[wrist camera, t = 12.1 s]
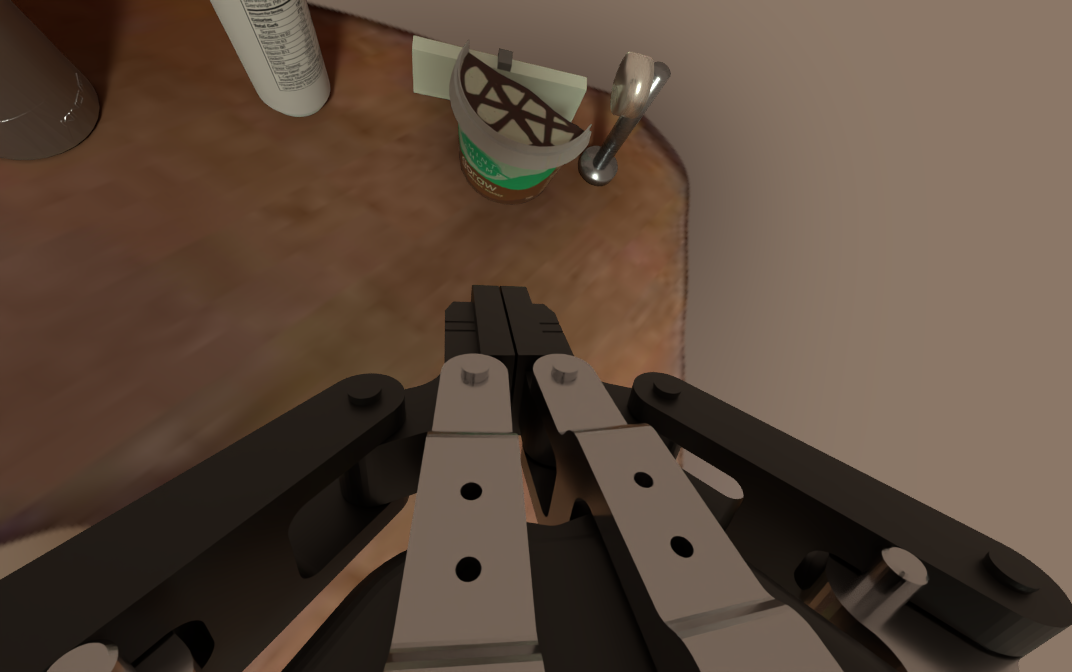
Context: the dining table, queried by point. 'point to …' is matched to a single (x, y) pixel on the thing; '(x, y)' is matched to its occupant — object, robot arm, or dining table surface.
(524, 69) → the rail
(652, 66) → the post
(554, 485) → the robot arm
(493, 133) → the food container
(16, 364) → the dining table surface
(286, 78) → the energy drink can
